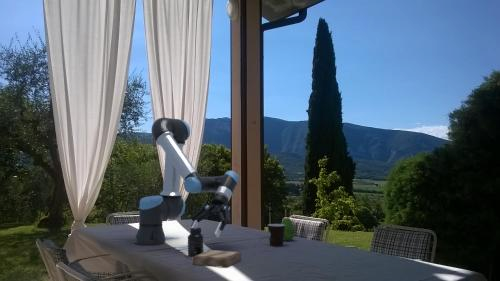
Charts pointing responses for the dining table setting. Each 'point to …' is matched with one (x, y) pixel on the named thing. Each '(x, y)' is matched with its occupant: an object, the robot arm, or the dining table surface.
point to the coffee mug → (276, 234)
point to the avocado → (288, 229)
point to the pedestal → (217, 258)
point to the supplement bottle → (195, 242)
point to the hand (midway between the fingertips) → (203, 234)
